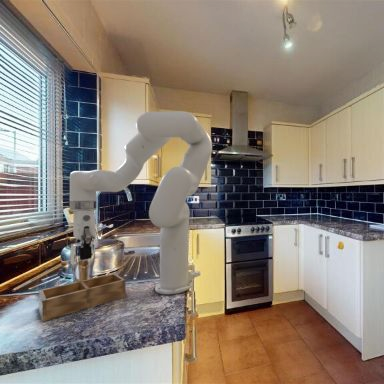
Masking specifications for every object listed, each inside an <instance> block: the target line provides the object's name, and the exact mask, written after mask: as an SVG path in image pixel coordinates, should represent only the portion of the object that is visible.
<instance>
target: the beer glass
mask: <svg viewBox="0 0 384 384" xmlns="http://www.w3.org/2000/svg"><path fill="white" fill-rule="evenodd" d="M91 246H92V257H91V258H90V259H84V260H80V248H81V243H80V242H78V243H75V242H74V243H71V245H70V252H69V253H70V255H69V256H70V257H69V260H70V266H71V267H70V268H71V271H72V278H73V279H72V283H74V282H78V281H83V280H87V279H92V278H93V270H94V265H95V260H96V246H95V241H92V240H91Z"/></svg>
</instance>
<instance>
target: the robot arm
mask: <svg viewBox="0 0 384 384" xmlns="http://www.w3.org/2000/svg"><path fill="white" fill-rule="evenodd" d="M135 128H136V130H137V132H138V133H137V134H135V135H134V136H133V137H132V138H131V139H130V140H129V141H128V142H126V143H125V145H124V147H123V148H124V151H125V155H126V156H125V160H124V162H123V164H121V165H120V166H119V167H118V168H117V169H116V170H114V171H112V170H105V169H94V170H74V171H72V172H70V174H69V212H73V216H72V218H73V220H72V230H73V237H74V238H75V242H74V243H78V242H80V243H81V248H80V260H84V259H90V258H91V257H92V246H91V241H92V239H96V237H97V233H96V232H97V231H96V216H95V211H97V192H100V193H101V192H102V193H118V192H122V191H124V190H125V189H126V188H127V187H128V186H129V185H131V184H132V183H133V182H134V181H135V180H136V179H137V178H138V177H139V175H140V174H141V172H142V170H143V168H144V166H145V164H146V162H148V160H149V159H151V158H152V157H153V156H154V155H155V154H156V153H157V152H159V151H160V149H162V147H164V146H166V144H167V143H168V142H169V141H170V140H171V139H172V138H180V139H181V140H182V141H183V142H185V143H186V144H187V145H188V148H187V150H186V151H185V153H184V155H183V157H182V160H181V162H180V164H179V166H174V167H171V168H170V169H168V170H166V172H165V173H164V174H163V176H162V178H161V180H160V182H159V184H158V186H157V189H156V191H155V193H154V196H153V198H152V200H151V203H150V205H149V210H148V218H149V220H150V222H151V223H152V225H154V226H155V227H157V228H160V230H159V231H160V232H159V282H157V284H155V286H154V291H155V293H157V294H159V295H176V294H181V293H184V292H187V291H189V290H191V289H192V288H193V286H194V281H193V280H194V278H197V277H200V276H201V271H200V270H197V271H193V270H191V271H189V227H190V216H191V211H190V207H189V205H188V203H187V202H186V201H187V199H188V197H190V196H192V195H194V194H195V193H196V192H197V191H198V188H199V187H200V183H201V180H202V178H203V176H204V174H205V171H206V169H207V165H208V163H209V161H210V159H211V156H212V152H213V142H212V139H211V136H210V135H209V133H208V131H207V130H206V129H205V128H204V126H203V125H202V124H201V123H200V121H199V120H198V118H197V117H196V116H195V115H194V114H193V113H191V112H188V111H185V110H166V111H165V110H164V111H163V110H162V111H161V110H159V111H157V110H156V111H148V112H144V113H142V114H140V116H138V117H137V119H136V122H135Z"/></svg>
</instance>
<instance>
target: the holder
mask: <svg viewBox="0 0 384 384" xmlns="http://www.w3.org/2000/svg"><path fill="white" fill-rule="evenodd" d="M124 298H126V279H124V278H123V277H122V276H120V275H118V274H117V273H116V272H114V273H110V274H105V275H101V276H96V277H92V279H87V280H83V281H78V282H74V283H73V282H69V283H65V284H61V285H56V286H53V287H48V288H43V289H39V290H38V313H39V315H40V319H41V322H42V323H43V322H47V321H50V320H53V319H57V318H60V317H64V316H67V315H69V314H74V313H77V312H80V311H83V310H87V309H90V308H94V307H97V306H99V305H104V304H107V303H110V302H113V301H117V300H119V299H124Z"/></svg>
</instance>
